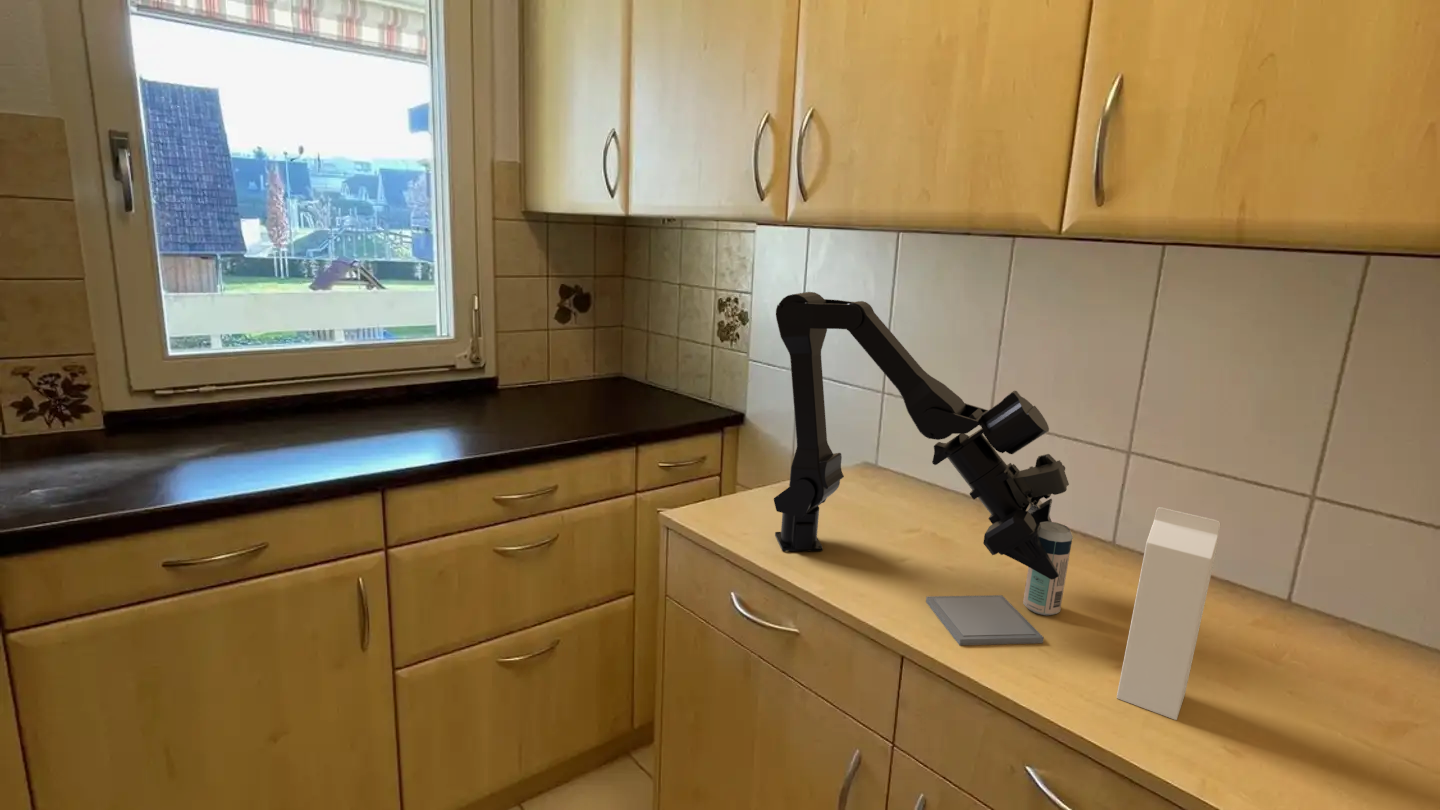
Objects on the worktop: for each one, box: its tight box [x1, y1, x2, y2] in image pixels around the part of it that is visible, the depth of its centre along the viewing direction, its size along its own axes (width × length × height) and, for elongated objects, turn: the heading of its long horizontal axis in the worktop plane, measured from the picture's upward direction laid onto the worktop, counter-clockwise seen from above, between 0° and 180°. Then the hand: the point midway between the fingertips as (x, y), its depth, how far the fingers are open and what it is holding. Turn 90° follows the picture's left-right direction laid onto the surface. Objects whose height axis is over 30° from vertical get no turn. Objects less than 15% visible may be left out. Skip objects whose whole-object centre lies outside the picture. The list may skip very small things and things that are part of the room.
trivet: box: [925, 594, 1044, 646], centre depth 102 cm, size 11×11×1 cm
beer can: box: [1022, 521, 1074, 616], centre depth 105 cm, size 5×5×12 cm
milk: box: [1116, 506, 1221, 721], centre depth 84 cm, size 6×6×22 cm
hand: (1059, 567), depth 104 cm, fingers open, 7 cm apart
